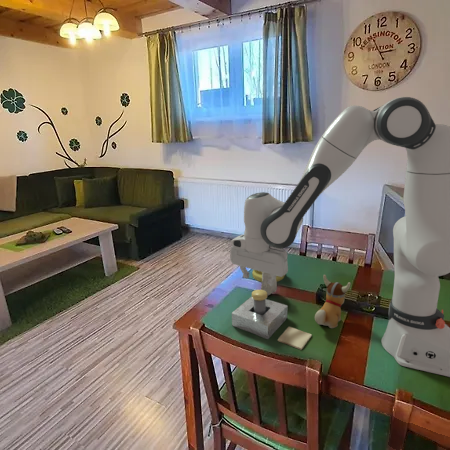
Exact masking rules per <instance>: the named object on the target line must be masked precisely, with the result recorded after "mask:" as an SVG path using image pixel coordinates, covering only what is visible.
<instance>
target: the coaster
mask: <svg viewBox="0 0 450 450" xmlns="http://www.w3.org/2000/svg"><path fill="white" fill-rule="evenodd" d="M311 337H312V334H311V333H309V332H306V331H302V330H300V329H297V328H295V327H292V326H288V327H287V328H286V329H285V330H284V331H283V333H282V334H281V335H280V336H279V337H278V339H277V341H278V342H280V343H282V344H285V345H288V346H290V347H293V348H295V349H297V350H300V351H302V350H303V349H304V348H305V345H306V344H308V342H309V340H310V339H311Z"/></svg>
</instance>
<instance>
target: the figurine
mask: <svg viewBox="0 0 450 450" xmlns="http://www.w3.org/2000/svg"><path fill="white" fill-rule="evenodd" d="M251 274H252V277H253V279H254V280H255V281H258V282H260V283H262V272H261V271H257V270H254V269H252V273H251ZM284 278H285V275H284V276H282V277H279V276H276V281H277V283H278V282H280V281H282V280H283V279H284Z"/></svg>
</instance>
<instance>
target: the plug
mask: <svg viewBox="0 0 450 450" xmlns="http://www.w3.org/2000/svg"><path fill="white" fill-rule="evenodd" d="M251 296H252V298H253V299H254V313H256V314H259V315H262V316H263V315H264V314H265V313H266V300H265V299H267V298H268V296H267V292H266V291H264V290H261V289H255V290H253V291H251Z"/></svg>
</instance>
